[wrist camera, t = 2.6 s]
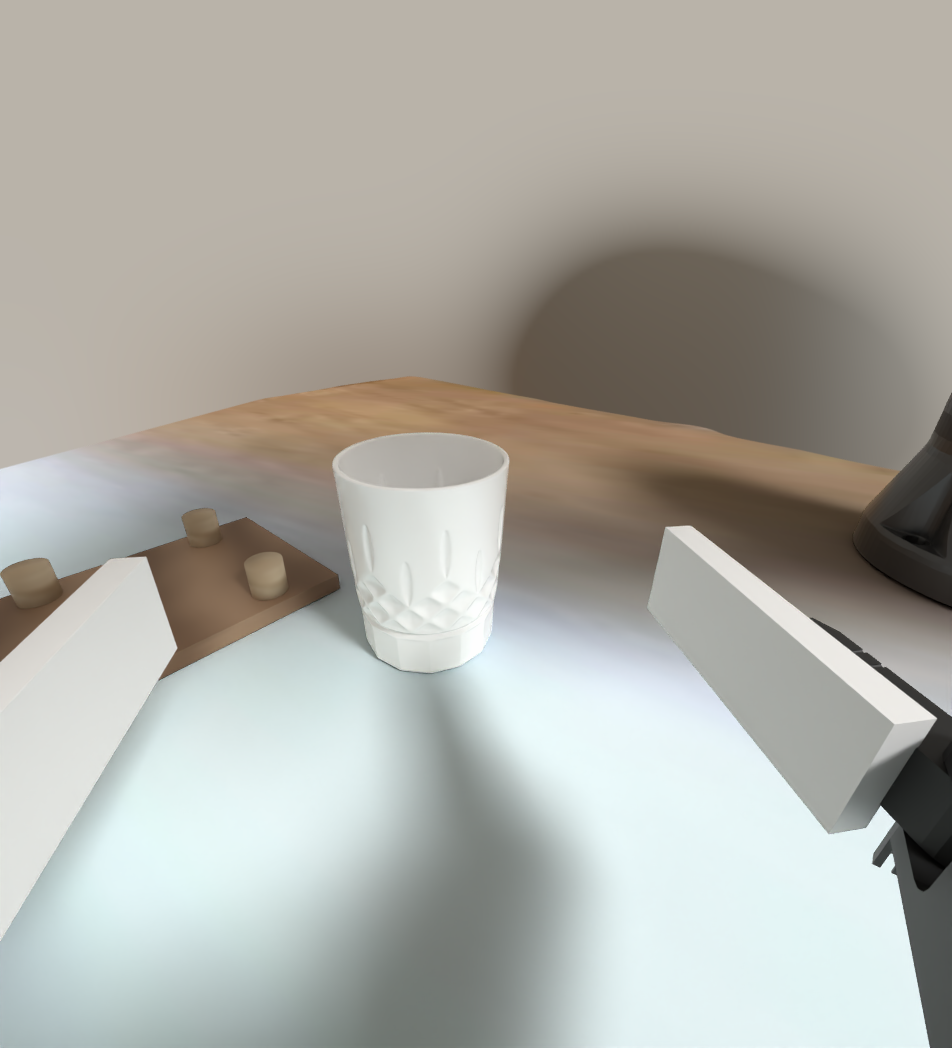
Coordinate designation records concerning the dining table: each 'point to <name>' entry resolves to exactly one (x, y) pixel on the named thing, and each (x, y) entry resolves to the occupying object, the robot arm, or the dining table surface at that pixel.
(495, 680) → the dining table surface
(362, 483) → the white cup
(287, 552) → the holder
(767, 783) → the dining table surface
